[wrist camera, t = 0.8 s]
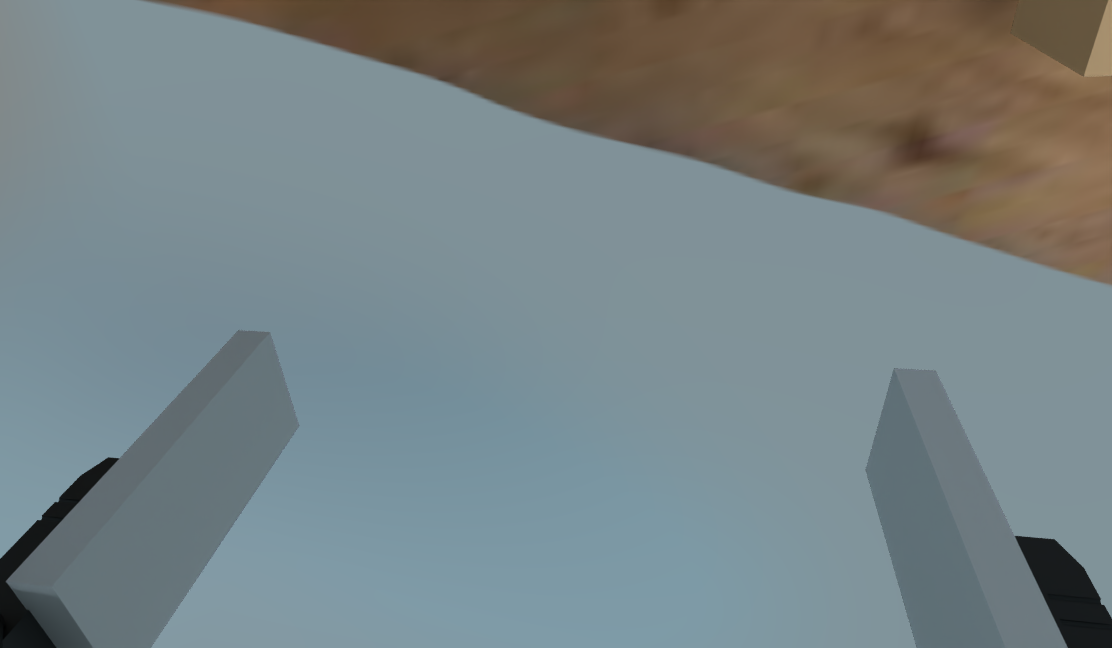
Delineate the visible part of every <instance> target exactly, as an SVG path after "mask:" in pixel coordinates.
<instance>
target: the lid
mask: <svg viewBox="0 0 1112 648" xmlns="http://www.w3.org/2000/svg"><path fill="white" fill-rule="evenodd" d="M1011 34H1013V35H1014V36H1016V37H1018V38H1019V39H1021V40H1023V41H1024V42H1026V43H1028V44H1030V45H1031V46H1033V47H1035V48H1036V49H1038V50H1040V51H1041V52H1043V53H1045V54H1046V55H1048V56H1050V57H1051V58H1053V59H1055V60H1056V61H1058V62H1060V63H1061V64H1063V65H1065V66H1066V67H1068V68H1070V69H1071V70H1073V71H1075V72H1076V73H1078V74H1080V75H1082V76H1083V77H1089V76H1112V0H1019V2H1018V6H1017V10H1016V13H1015V17H1014V21H1013V25H1012V29H1011Z"/></svg>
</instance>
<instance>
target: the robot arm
mask: <svg viewBox="0 0 1112 648" xmlns="http://www.w3.org/2000/svg"><path fill="white" fill-rule="evenodd" d="M298 427H299V423H298V420H297V417H296V414H295V410H294V407H293V404H292V401H291V398H290V395H289V391H288V388H287V385H286V382H285V378H284V375H283V372H282V369H281V366H280V362H279V359H278V356H277V353H276V350H275V346H274V343H273V340H272V337H271V334H270V332H257V331H237V332H236V333H235V334H234V336H233V337H232V338H231V339H230V340H229V341H228V342H227V343H226V344H225V345H224V346H223V347H222V349H221V350H220V351H219V352H218V353H217V354H216V355H215V356H214V357H213V358H212V359H211V360H210V362H209V363H208V364H207V365H206V366H205V367H204V368H203V369H202V370H201V371H200V372H199V373H198V375H196V377H195V378H194V379H193V380H192V381H191V382H190V383H189V384H188V385H187V386H186V387H185V389H184V390H183V391H182V392H181V393H180V394H179V395H178V396H177V397H176V398H175V399H174V400H173V401H172V402H171V404H170V405H169V406H168V407H167V408H166V409H165V410H164V411H163V412H162V413H161V414H160V416H159V417H158V418H157V419H156V420H155V421H154V422H153V423H152V424H151V425H150V426H149V427H148V428H147V429H146V431H145V432H144V433H143V434H142V435H141V436H140V437H139V438H138V439H137V440H136V441H135V442H134V444H133V445H132V446H131V447H130V448H129V449H128V450H127V451H126V452H125V453H124V454H123V456H121V458H107V459H105V460H104V461H102V462H101V463H100V464H98V465H96V466H95V467H93V468H92V469H90V470H89V471H87V472H86V473H84V474H82V475H81V476H80V477H79V478H78V479H77V480H76V481H75V482H74V483H73V484H72V485H71V486H70V487H69V488H68V489H67V490H66V491H65V492H64V493H63V494H62V495H61V497H60V498H59V502H55V503H54V504H53V505H52V506H51V507H50V508H49V509H48V510H47V511H46V512H45V513H44V514H43V515H42V520H37V521H36V522H35V524H34V525H33V526H32V527H31V528H30V529H29V530H28V531H27V532H26V533H25V534H24V535H23V536H22V537H21V538H20V539H19V540H18V541H17V542H16V543H15V544H14V545H13V546H12V547H11V549H10V550H8V552H6V554H5V555H4V556H3V557H2V558H1V559H0V648H151V647H152V645H153V644H154V642H155V641H156V639H157V638H158V636H159V635H160V633H161V632H162V630H163V629H164V627H165V626H166V624H167V623H168V621H169V620H170V618H171V617H172V615H173V614H174V612H175V611H176V609H177V608H178V606H179V605H180V603H181V602H182V601H183V599H184V597H185V596H186V595H187V593H188V592H189V590H190V589H191V587H192V586H193V584H194V583H195V581H196V579H197V578H198V577H199V575H200V574H201V572H202V570H203V569H204V567H205V566H206V565H207V563H208V562H209V560H210V559H211V557H212V555H213V554H214V553H215V551H216V550H217V548H218V547H219V545H220V544H221V542H222V541H223V539H224V538H225V536H226V535H227V533H228V532H229V530H230V529H231V527H232V526H233V524H234V523H235V521H236V520H237V518H238V517H239V515H240V514H241V512H242V511H243V509H244V508H245V506H246V505H247V503H248V502H249V500H250V499H251V497H252V496H253V494H254V493H255V491H256V490H257V488H258V487H259V485H260V484H261V482H262V481H263V479H264V478H265V476H266V475H267V473H268V472H269V470H270V469H271V467H272V466H273V464H274V463H275V461H276V460H277V458H278V457H279V455H280V454H281V452H282V450H283V449H284V448H285V446H286V445H287V443H288V442H289V440H290V439H291V438H292V436H293V435H294V433H295V432H296V430H297V428H298ZM866 473H867V477H868V480H869V484H870V487H871V491H872V494H873V498H874V501H875V504H876V508H877V511H878V515H879V518H880V522H881V525H882V529H883V532H884V536H885V539H886V543H887V546H888V550H889V553H890V557H891V560H892V564H893V567H894V570H895V574H896V578H897V581H898V584H899V588H900V591H901V595H902V598H903V602H904V605H905V609H906V612H907V616H908V619H909V622H910V626H911V630H912V633H913V637H914V640H915V644H916V647H917V648H1112V619H1111V617H1110V615H1109V613H1108V611H1107V610H1106V607H1105V606H1104V605H1101V602H1100V600H1101V599H1100V597H1099V595H1098V593H1097V591H1096V589H1095V588H1094V586H1093V584H1092V582H1091V580H1090V578H1089V577H1088V575H1087V573H1086V571H1085V569H1084V568H1083V567H1082V566H1081V565H1080V564H1079V563H1078V562H1077V561H1076V560H1075V559H1074V558H1073V557H1072V556H1071V555H1070V554H1069V553H1068V552H1067V551H1066V550H1065V549H1064V548H1063V547H1062V546H1061V545H1060V544H1059V543H1058V542H1057V541H1056V540H1054V539H1043V538H1032V537H1022V536H1014V534H1013V532H1012V530H1011V528H1010V526H1009V524H1008V521H1007V519H1006V518H1005V515H1004V513H1003V511H1002V509H1001V507H1000V505H999V502H998V500H997V498H996V496H995V494H994V492H993V490H992V488H991V486H990V484H989V482H988V479H987V477H986V475H985V473H984V471H983V469H982V467H981V465H980V463H979V460H978V459H977V456H976V454H975V452H974V450H973V448H972V446H971V444H970V442H969V440H968V437H967V435H966V433H965V431H964V429H963V427H962V425H961V423H960V421H959V419H958V416H957V414H956V412H955V410H954V408H953V406H952V404H951V402H950V400H949V397H948V396H947V393H946V391H945V389H944V387H943V385H942V383H941V381H940V379H939V376H938V374H937V372H936V371H932V370H914V369H898V368H894V370H893V374H892V377H891V381H890V385H889V388H888V392H887V395H886V399H885V402H884V406H883V410H882V413H881V417H880V420H879V424H878V427H877V431H876V435H875V438H874V442H873V445H872V449H871V452H870V456H869V459H868V463H867V467H866Z"/></svg>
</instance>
